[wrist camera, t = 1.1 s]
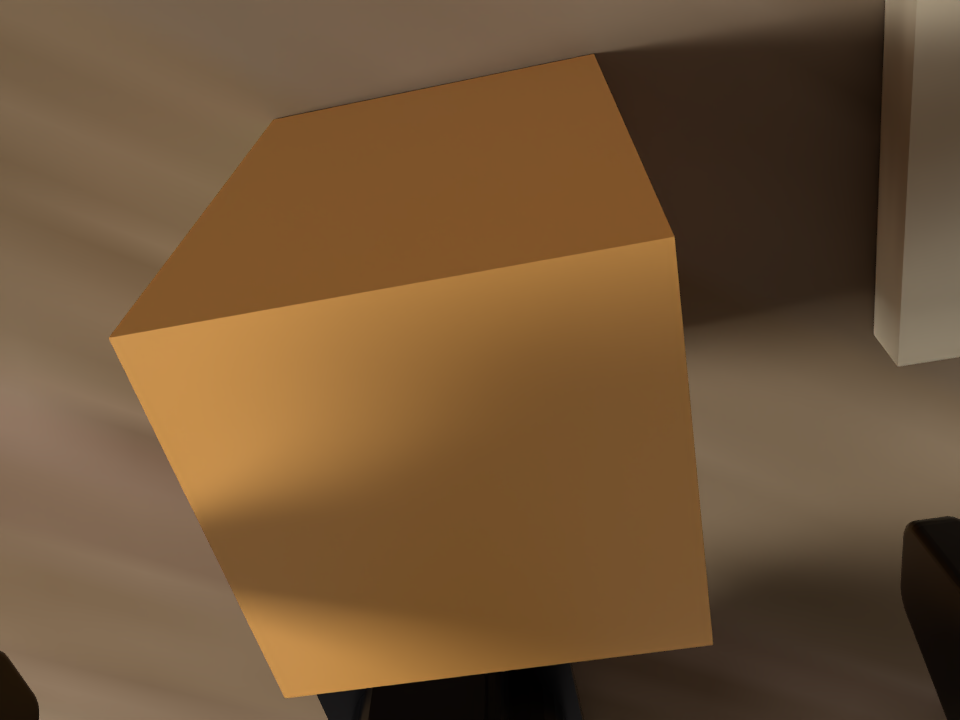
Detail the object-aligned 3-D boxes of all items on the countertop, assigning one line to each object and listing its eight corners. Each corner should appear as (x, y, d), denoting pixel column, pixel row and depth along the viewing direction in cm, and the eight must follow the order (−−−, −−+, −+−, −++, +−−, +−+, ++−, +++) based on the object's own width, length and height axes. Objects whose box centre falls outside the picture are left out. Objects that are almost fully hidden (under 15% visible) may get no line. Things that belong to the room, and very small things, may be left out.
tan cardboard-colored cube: (631, 339, 17) (713, 644, 11) (360, 384, 18) (284, 699, 12) (593, 53, 15) (674, 237, 8) (272, 119, 15) (109, 337, 9)
